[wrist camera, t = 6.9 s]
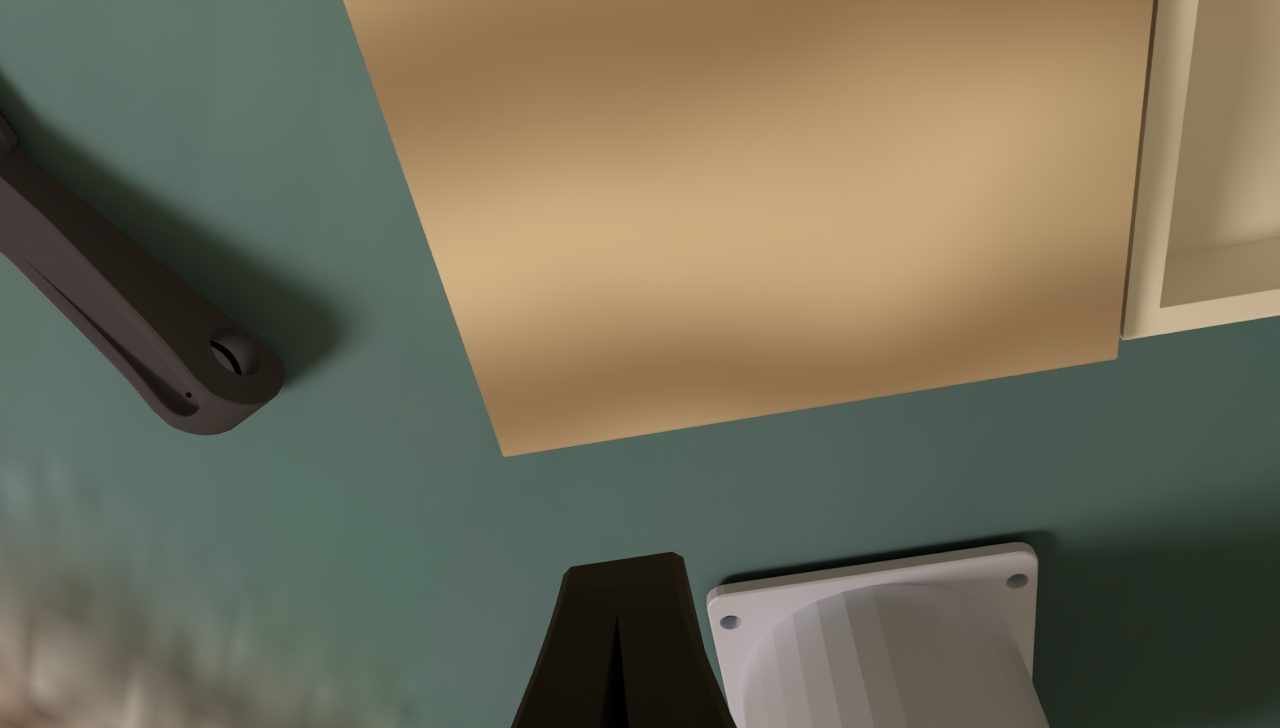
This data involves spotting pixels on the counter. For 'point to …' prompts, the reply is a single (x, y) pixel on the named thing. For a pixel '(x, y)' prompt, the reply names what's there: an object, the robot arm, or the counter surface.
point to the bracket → (130, 303)
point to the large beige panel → (761, 196)
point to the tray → (1206, 170)
